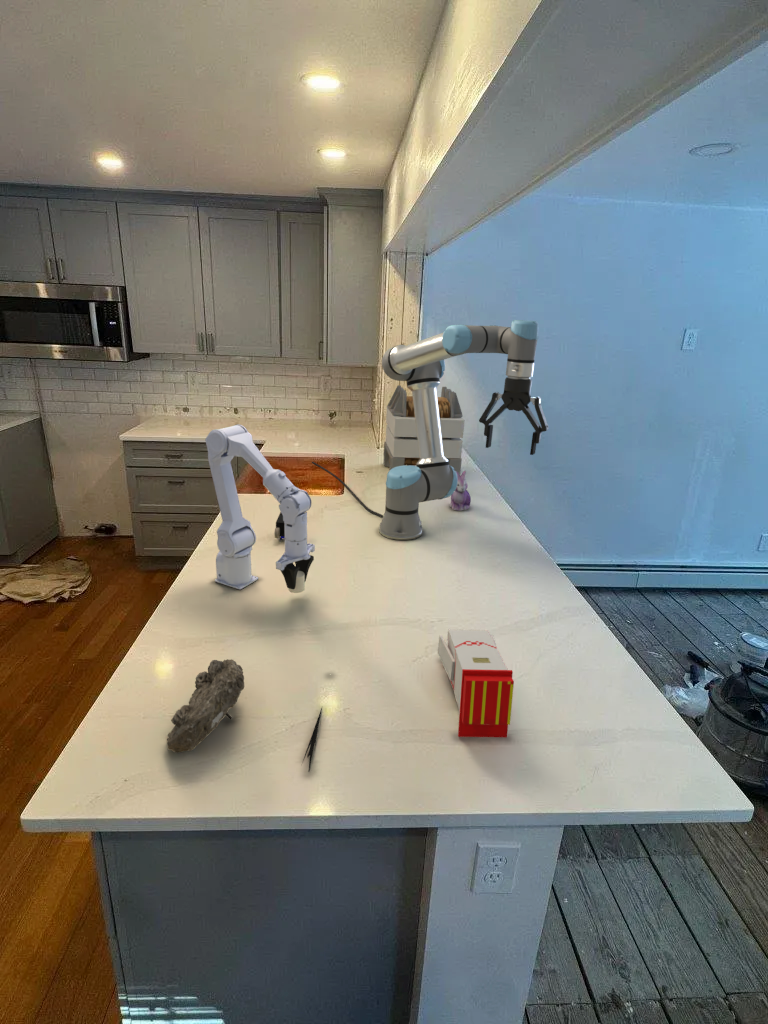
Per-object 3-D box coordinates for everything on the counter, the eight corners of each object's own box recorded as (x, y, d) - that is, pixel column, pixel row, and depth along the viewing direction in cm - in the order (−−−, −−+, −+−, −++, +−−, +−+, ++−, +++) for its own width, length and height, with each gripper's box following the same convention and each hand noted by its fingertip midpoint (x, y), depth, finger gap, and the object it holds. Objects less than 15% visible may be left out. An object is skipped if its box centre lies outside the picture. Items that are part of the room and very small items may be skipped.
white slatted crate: (382, 463, 289) (386, 382, 275) (445, 464, 293) (451, 384, 279) (390, 482, 257) (394, 392, 243) (460, 483, 261) (468, 394, 247)
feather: (331, 679, 122) (336, 673, 122) (307, 777, 96) (313, 769, 95) (324, 675, 122) (329, 669, 121) (298, 772, 95) (304, 764, 95)
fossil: (192, 660, 117) (244, 628, 112) (224, 691, 120) (276, 661, 115) (142, 746, 98) (202, 712, 93) (182, 779, 101) (242, 748, 96)
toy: (488, 613, 130) (523, 677, 101) (484, 667, 133) (517, 744, 104) (435, 612, 130) (455, 676, 101) (432, 666, 133) (451, 743, 103)
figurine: (457, 512, 223) (460, 476, 218) (443, 504, 231) (446, 469, 226) (477, 509, 227) (480, 473, 222) (462, 502, 236) (465, 467, 230)
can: (288, 593, 149) (288, 577, 148) (288, 585, 153) (288, 570, 151) (304, 592, 150) (304, 577, 148) (304, 585, 154) (304, 570, 152)
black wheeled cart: (294, 548, 187) (299, 527, 200) (293, 528, 183) (299, 508, 197) (273, 548, 187) (280, 526, 200) (272, 527, 183) (279, 507, 197)
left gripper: (291, 550, 139) (292, 599, 143) (324, 531, 151) (324, 577, 155) (268, 544, 141) (269, 592, 146) (302, 526, 154) (302, 571, 158)
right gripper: (472, 374, 164) (466, 446, 171) (559, 383, 152) (548, 459, 160) (481, 372, 170) (475, 442, 177) (566, 380, 159) (555, 454, 166)
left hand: (296, 584), depth 151 cm, fingers closed on can, 4 cm apart
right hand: (509, 450), depth 168 cm, fingers open, 13 cm apart
